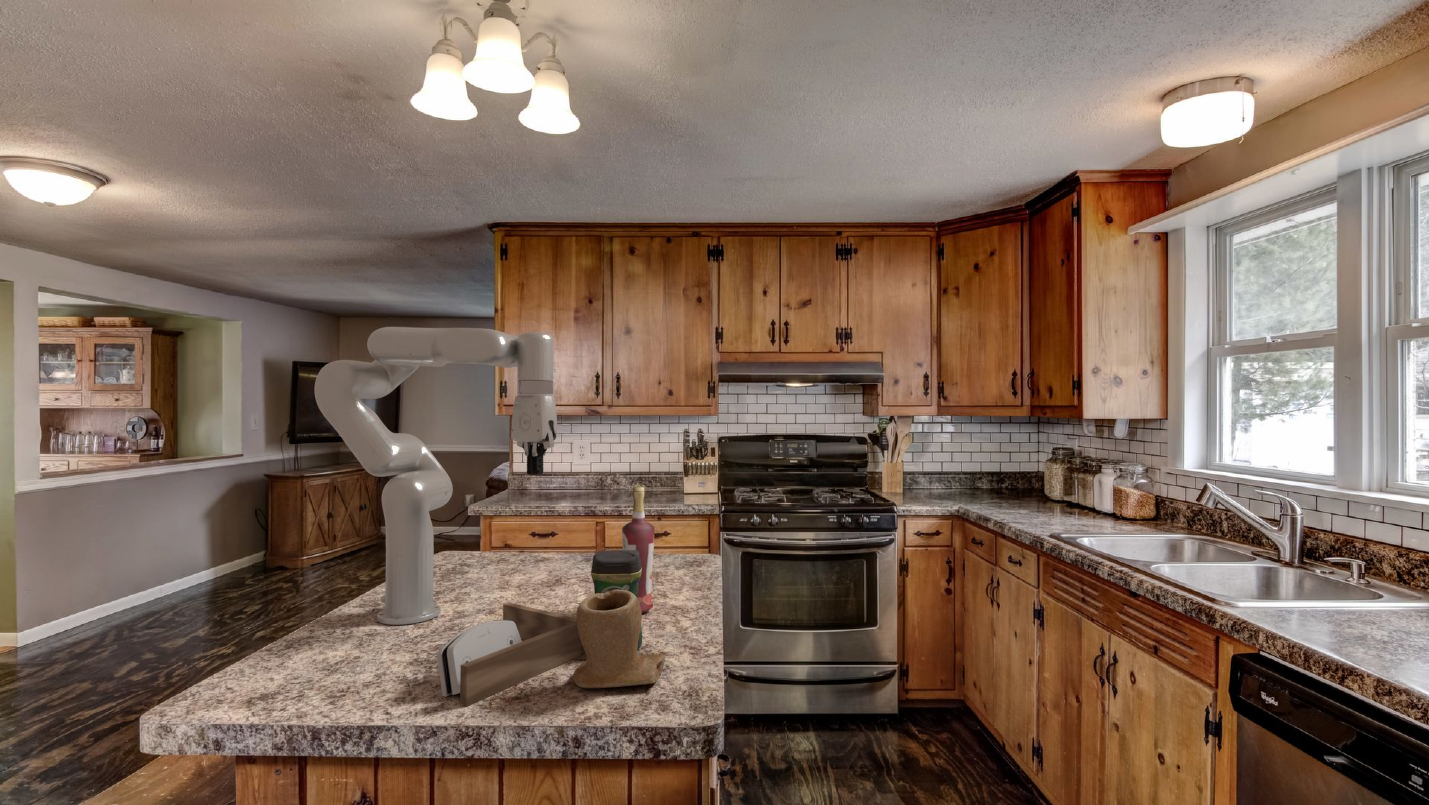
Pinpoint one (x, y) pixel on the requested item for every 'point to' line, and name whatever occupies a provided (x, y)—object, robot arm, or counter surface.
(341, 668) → the counter surface
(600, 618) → the tan boot-shaped piece
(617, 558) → the coffee jar
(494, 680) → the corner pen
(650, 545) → the liquor
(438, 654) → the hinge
